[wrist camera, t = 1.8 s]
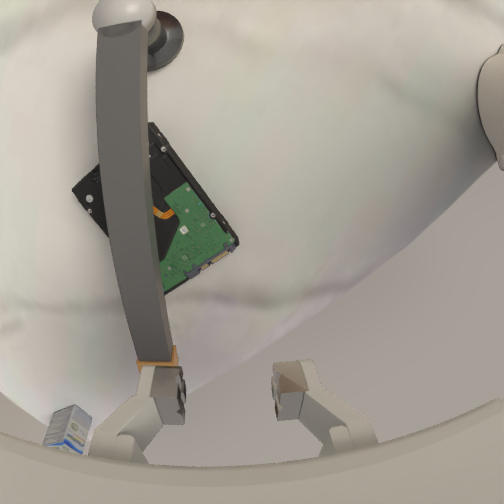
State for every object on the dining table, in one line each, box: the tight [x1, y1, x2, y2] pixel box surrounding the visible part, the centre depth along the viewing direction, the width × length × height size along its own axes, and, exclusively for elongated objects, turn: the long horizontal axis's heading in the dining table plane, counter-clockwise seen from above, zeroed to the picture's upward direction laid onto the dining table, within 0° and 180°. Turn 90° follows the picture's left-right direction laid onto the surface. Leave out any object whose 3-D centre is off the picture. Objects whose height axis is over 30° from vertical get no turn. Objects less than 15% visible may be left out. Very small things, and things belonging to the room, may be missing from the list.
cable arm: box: [92, 0, 178, 374], centre depth 20 cm, size 4×32×2 cm, turn 179°
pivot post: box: [147, 11, 184, 70], centre depth 19 cm, size 6×6×8 cm
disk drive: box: [72, 122, 239, 296], centre depth 29 cm, size 10×3×15 cm
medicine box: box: [43, 405, 92, 454], centre depth 40 cm, size 8×4×9 cm, turn 120°
